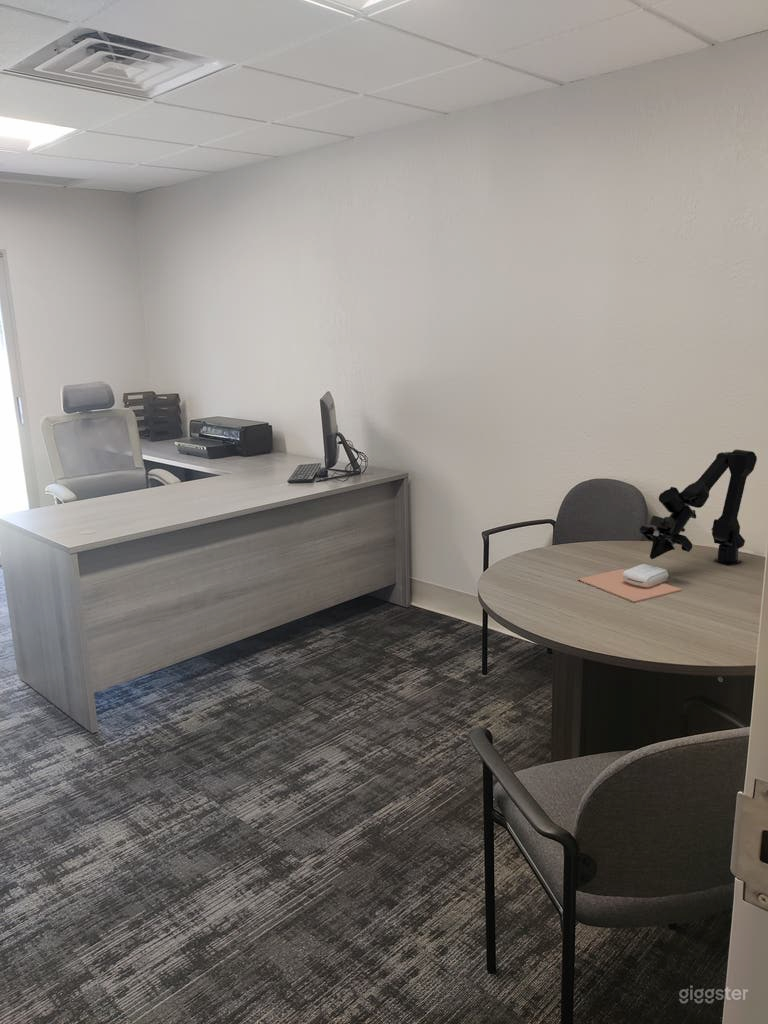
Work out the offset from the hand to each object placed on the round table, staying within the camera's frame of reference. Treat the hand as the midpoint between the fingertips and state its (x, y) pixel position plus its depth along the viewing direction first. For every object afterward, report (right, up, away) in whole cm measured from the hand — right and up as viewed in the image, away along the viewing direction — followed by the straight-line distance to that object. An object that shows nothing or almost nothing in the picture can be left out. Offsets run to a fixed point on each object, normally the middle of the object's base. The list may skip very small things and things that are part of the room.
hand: (651, 558), depth 253 cm
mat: (-8, -9, -2) cm, 12 cm away
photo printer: (+2, -5, +2) cm, 5 cm away
